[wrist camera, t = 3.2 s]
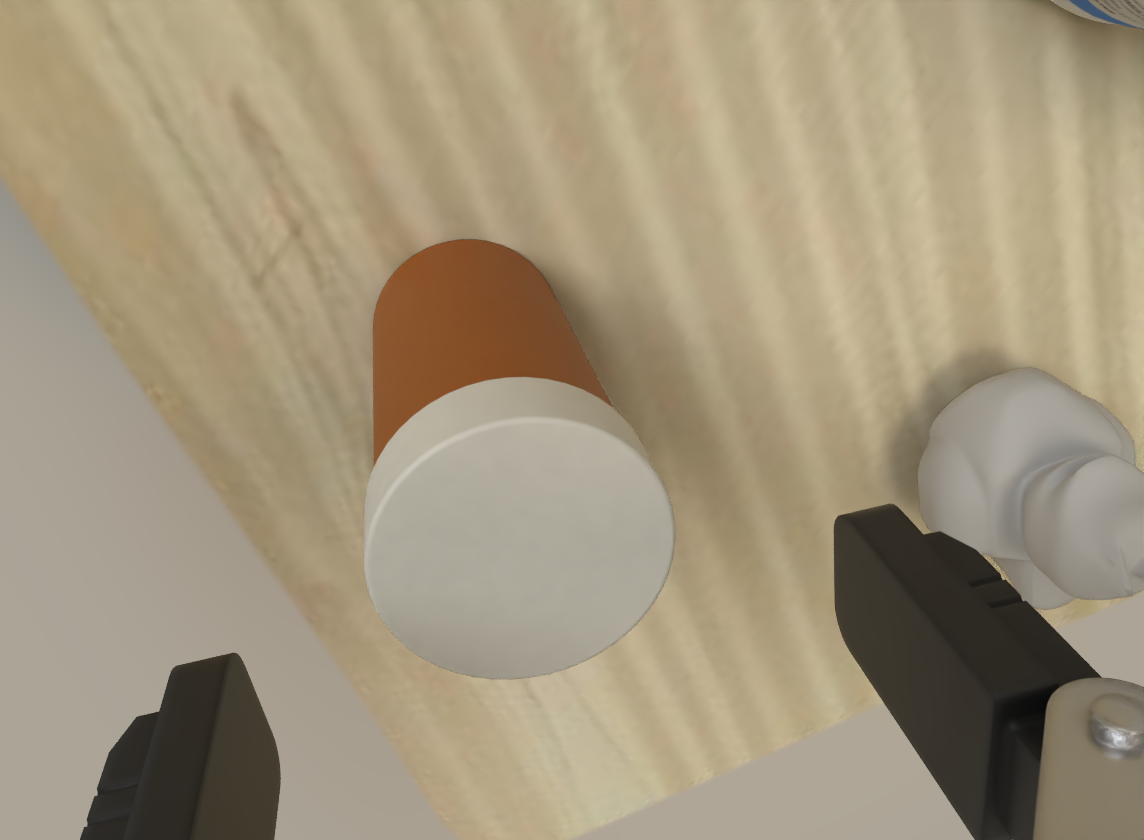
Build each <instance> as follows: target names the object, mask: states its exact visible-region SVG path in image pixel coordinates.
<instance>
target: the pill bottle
mask: <svg viewBox="0 0 1144 840" xmlns="http://www.w3.org/2000/svg"><path fill="white" fill-rule="evenodd" d="M373 418H374V469H373V471H372V473H371V476H370V479H369V483H368V487H367V491H366V498H365V507H364V572H365V579H366V583H367V588H368V592H369V595H370V597H371V600H372V602H373V605H374V607H375V609H376V611H377V612H378V614H379V616H380V617H381V619H382V621H383V622H384V624H385V625H386V626H387V627H388V629H389V630H390V631H391V632H392V633H393V635H394V636H395V637H396V638H397V639H398V640H399V641H400V642H402V643H403V644H404V645H405V646H406V647H407V648H408V649H409V650H411V651H412V652H414V653H415V654H417V655H418V656H420V657H421V658H423V659H425V660H427V661H429V662H431V663H433V664H435V665H437V666H439V667H441V668H444V669H447V670H449V671H452V672H455V673H459V674H463V675H467V676H472V677H478V678H487V679H521V678H531V677H536V676H541V675H546V674H551V673H554V672H557V671H561V670H564V669H567V668H570V667H572V666H575V665H577V664H579V663H582V662H584V661H586V660H588V659H590V658H592V657H594V656H596V655H597V654H599V653H601V652H603V651H604V650H606V649H607V648H609V647H610V646H612V645H613V644H615V643H616V642H617V641H618V640H620V639H621V638H622V637H623V636H624V635H626V634H627V633H628V632H629V631H630V630H631V629H632V628H633V627H634V626H635V625H636V624H637V623H638V622H639V621H640V620H641V619H642V618H643V617H644V615H645V614H646V613H647V611H648V610H649V609H650V607H651V606H652V605H653V603H654V602H655V600H656V598H657V596H658V595H659V593H660V591H661V590H662V588H663V585H664V583H665V580H666V578H667V576H668V573H669V570H670V566H671V562H672V559H673V554H674V546H675V519H674V514H673V508H672V504H671V501H670V498H669V496H668V493H667V490H666V488H665V486H664V484H663V482H662V480H661V479H660V477H659V475H658V473H657V471H656V469H655V467H654V466H653V464H652V462H651V460H650V458H649V456H648V454H647V453H646V451H645V449H644V447H643V445H642V443H641V442H640V440H639V438H638V436H637V434H636V433H635V431H634V430H633V429H632V428H631V426H630V425H629V424H628V422H627V421H626V420H625V419H624V418H623V417H622V416H621V415H620V414H619V413H618V412H617V411H616V410H615V409H614V408H613V407H612V406H611V404H610V402H609V400H608V398H607V396H606V394H605V392H604V390H603V388H602V386H601V384H600V382H599V381H598V379H597V377H596V375H595V373H594V371H593V369H592V367H591V365H590V363H589V361H588V359H587V357H586V355H585V354H584V352H583V350H582V348H581V346H580V344H579V342H578V340H577V338H576V336H575V334H574V332H573V330H572V329H571V327H570V325H569V323H568V321H567V319H566V317H565V315H564V313H563V311H562V309H561V307H560V305H559V304H558V302H557V300H556V298H555V296H554V294H553V292H552V290H551V288H550V286H549V285H548V283H547V281H546V279H545V278H544V277H543V275H542V274H541V273H540V271H539V270H538V269H537V268H536V267H535V266H534V265H533V264H532V263H531V262H529V261H528V260H527V259H526V258H524V257H523V256H522V255H520V254H518V253H517V252H515V251H513V250H511V249H509V248H507V247H504V246H502V245H499V244H496V243H492V242H488V241H481V240H455V241H448V242H444V243H441V244H437V245H434V246H432V247H429V248H427V249H425V250H423V251H421V252H419V253H417V254H416V255H414V256H413V257H411V258H410V259H409V260H407V261H406V262H405V263H403V264H402V265H401V266H400V267H399V268H398V269H397V270H396V271H395V272H394V274H393V275H392V276H391V278H390V279H389V280H388V281H387V283H386V285H385V287H384V288H383V290H382V292H381V294H380V297H379V299H378V302H377V305H376V309H375V313H374V321H373Z"/></svg>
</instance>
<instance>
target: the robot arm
mask: <svg viewBox="0 0 1144 840" xmlns="http://www.w3.org/2000/svg"><path fill="white" fill-rule="evenodd" d="M834 586H835V611H836V616H837V621H838V625H839V628H840V631H841V634H842V637H843V639H844V641H845V643H846V645H847V647H848V649H849V651H850V652H851V654H852V655H853V657H854V658H855V660H856V661H857V663H858V664H859V666H860V667H861V669H862V670H863V672H864V673H865V675H866V676H867V678H868V679H869V681H870V682H871V684H872V685H873V687H874V689H875V690H876V692H877V693H878V695H879V696H880V698H881V699H882V701H883V702H884V704H885V705H886V707H887V708H888V710H889V711H890V713H891V714H892V716H893V717H894V719H895V720H896V722H897V723H898V725H899V726H900V728H901V729H902V731H903V732H904V734H905V735H906V737H907V738H908V740H909V741H910V743H911V744H912V746H913V747H914V749H915V750H916V752H917V753H918V755H919V756H920V758H921V759H922V761H923V762H924V764H925V765H926V767H927V768H928V770H929V771H930V773H931V774H932V776H933V777H934V779H935V780H936V782H937V783H938V785H939V786H940V788H941V789H942V791H943V792H944V794H945V795H946V797H947V798H948V800H949V801H950V803H951V805H952V806H953V808H954V809H955V811H956V812H957V814H958V815H959V816H960V818H961V820H962V821H963V823H964V824H965V825H966V827H967V829H968V830H969V832H970V833H971V835H972V836H973V838H974V839H975V840H1012V839H1013V840H1144V687H1142V686H1140V685H1137V684H1134V683H1131V682H1126V681H1122V680H1117V679H1111V678H1102V677H1101V676H1100V675H1099V674H1098V673H1097V672H1096V671H1095V670H1094V669H1093V668H1092V667H1091V666H1090V665H1089V664H1088V663H1087V662H1086V661H1085V660H1084V659H1083V658H1082V657H1081V656H1080V655H1079V654H1078V653H1077V652H1076V651H1075V650H1074V649H1073V648H1072V647H1071V646H1070V645H1069V644H1068V643H1067V642H1066V641H1065V640H1064V639H1063V638H1062V637H1061V635H1060V634H1059V633H1058V632H1057V631H1056V630H1055V629H1054V628H1053V627H1052V626H1051V625H1050V624H1049V623H1048V622H1047V621H1046V620H1045V619H1044V618H1043V617H1042V616H1041V615H1040V614H1039V613H1038V612H1037V611H1036V610H1035V609H1034V608H1033V607H1032V606H1031V605H1030V604H1029V603H1028V602H1027V601H1023V600H1022V598H1021V595H1020V594H1019V593H1018V592H1017V591H1016V590H1015V589H1014V588H1013V587H1012V586H1011V585H1010V584H1009V583H1008V582H1007V581H1006V580H1002V578H1001V574H1000V573H999V572H998V571H997V570H996V569H995V568H994V567H993V566H992V565H991V564H990V563H989V562H988V561H987V560H986V559H985V558H984V557H983V556H982V555H981V554H980V553H979V552H978V551H977V550H976V549H974V548H972V547H970V546H968V545H966V544H964V543H962V542H960V541H958V540H957V539H955V538H953V537H951V536H949V535H947V534H945V533H943V532H941V531H938V532H934V533H929V534H925V535H923V534H922V533H921V531H920V530H919V529H918V528H917V527H916V526H915V525H914V524H913V523H912V522H911V521H910V519H909V518H908V517H907V516H906V515H905V514H904V513H903V512H902V511H901V510H900V509H899V508H898V507H897V506H895V505H893V504H887V505H883V506H878V507H874V508H870V509H865V510H861V511H857V512H852V513H848V514H843V515H839V516H838V517H837V518H836V520H835V524H834ZM280 779H281V777H280V763H279V756H278V751H277V747H276V742H275V739H274V736H273V733H272V731H271V729H270V726H269V724H268V721H267V719H266V716H265V714H264V711H263V709H262V707H261V704H260V702H259V699H258V697H257V694H256V692H255V689H254V687H253V684H252V682H251V679H250V677H249V675H248V672H247V670H246V667H245V665H244V663H243V661H242V659H241V657H240V656H239V655H238V654H237V653H231V654H226V655H221V656H217V657H213V658H209V659H204V660H200V661H195V662H191V663H187V664H182V665H178V666H176V667H174V668H173V669H172V671H171V673H170V676H169V680H168V683H167V687H166V690H165V694H164V697H163V701H162V704H161V708H160V711H159V712H155V713H151V714H147V715H143V716H138V717H136V718H135V720H134V721H133V722H132V724H131V725H130V726H129V728H128V729H127V730H126V731H125V733H124V734H123V735H122V737H121V738H120V739H119V741H118V742H117V743H116V744H115V746H114V747H113V748H112V749H111V751H110V752H109V754H108V758H107V760H106V763H105V766H104V770H103V772H102V776H101V778H100V781H99V784H98V787H97V791H98V796H95V797H94V799H93V802H92V805H91V808H90V811H89V814H88V818H87V822H88V826H87V827H84V830H83V832H82V835H81V838H80V840H274V836H275V828H276V819H277V811H278V802H279V793H280Z"/></svg>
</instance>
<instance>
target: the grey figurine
mask: <svg viewBox="0 0 1144 840" xmlns="http://www.w3.org/2000/svg"><path fill="white" fill-rule="evenodd" d="M1135 457H1136V455H1135V446H1134V442H1133V439H1132V437H1131V435H1130V434H1129V432H1128V431H1127V429H1126V428H1125V427H1124V426H1123V425H1122V423H1121V422H1120V421H1119V420H1118V419H1117V418H1116V417H1115V416H1114V415H1113V414H1112V413H1111V412H1110V411H1109V410H1108V409H1107V408H1105V407H1104V406H1103V405H1102V404H1100V403H1099V402H1097V401H1096V400H1094V399H1092V398H1089V397H1087V396H1084V395H1082V394H1081V393H1080V392H1078V391H1077V390H1075V389H1073V388H1071V387H1070V386H1068V385H1067V384H1065V383H1063V382H1062V381H1060V380H1058V379H1057V378H1055V377H1053V376H1051V375H1049V374H1048V373H1046V372H1044V371H1041V370H1039V369H1037V368H1032V367H1027V368H1020V369H1015V370H1011V371H1008V372H1005V373H1002V374H999V375H996V376H993V377H991V378H988V379H985V380H983V381H981V382H979V383H977V384H975V385H973V386H972V387H970V388H969V389H967V390H966V391H964V392H963V393H961V394H960V395H959V396H957V397H956V398H955V399H954V400H953V401H951V402H950V403H949V404H948V405H947V406H946V407H945V408H944V409H943V410H942V411H941V412H940V413H939V415H938V416H937V417H936V419H935V420H934V422H933V424H932V426H931V428H930V431H929V437H928V446H927V448H926V449H925V451H924V453H923V455H922V458H921V460H920V463H919V467H918V475H917V483H918V492H919V501H920V511H921V516H922V519H923V521H924V523H925V524H926V526H927V527H928V529H929V530H930V531H931V533H934V532H938V531H941V532H943V533H945V534H947V535H949V536H951V537H953V538H955V539H957V540H958V541H960V542H962V543H964V544H966V545H968V546H970V547H972V548H974V549H976V550H977V551H978V552H979V553H980V554H981V555H988V556H990V557H991V558H992V559H993V560H994V561H995V562H996V563H997V564H998V566H999V567H1000V568H1001V569H1002V570H1003V571H1004V573H1005V574H1006V576H1007V577H1008V578H1009V580H1010V581H1011V583H1012V584H1013V586H1014V588H1015V589H1016V591H1017V592H1018V593H1019V594H1020V595H1021V598H1022V599H1023V600H1024V601H1027V602H1028V603H1029V604H1030V605H1031V606H1032V607H1034V608H1036V609H1043V610H1047V609H1054V608H1058V607H1061V606H1063V605H1066V604H1068V603H1069V602H1071V601H1072V600H1074V599H1075V598H1080V599H1085V600H1109V599H1116V598H1122V597H1129V596H1132V595H1133V594H1135V593H1137V592H1140V591H1142V590H1144V473H1143V472H1142V471H1141V470H1140V469H1138V468H1137V467H1136V466H1135Z"/></svg>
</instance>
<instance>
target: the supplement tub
mask: <svg viewBox="0 0 1144 840" xmlns="http://www.w3.org/2000/svg"><path fill="white" fill-rule="evenodd" d="M1050 1H1052V2H1053V3H1055V4H1056V5H1058V6H1059V7H1061V8H1063V9H1065V10H1067V11H1069V12H1071V13H1073V14H1075V15H1078V16H1081V17H1084V18H1087V19H1090V20H1093V21H1098V22H1102V23H1107V24H1115V25H1122V26H1128V27H1134V28H1141V29H1144V0H1050Z"/></svg>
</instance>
